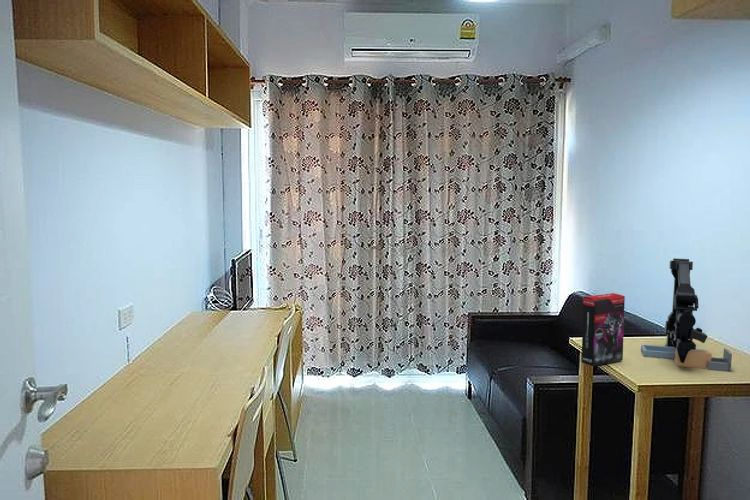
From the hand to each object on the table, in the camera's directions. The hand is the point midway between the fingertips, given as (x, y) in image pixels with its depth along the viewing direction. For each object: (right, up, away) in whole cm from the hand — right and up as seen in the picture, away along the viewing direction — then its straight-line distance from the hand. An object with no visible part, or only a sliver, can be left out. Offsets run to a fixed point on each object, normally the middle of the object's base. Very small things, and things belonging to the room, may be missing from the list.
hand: (681, 360), depth 241 cm
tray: (-1, 0, +13) cm, 13 cm away
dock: (+12, -2, -4) cm, 13 cm away
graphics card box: (-31, -1, +2) cm, 31 cm away
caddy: (+4, -2, -1) cm, 4 cm away
